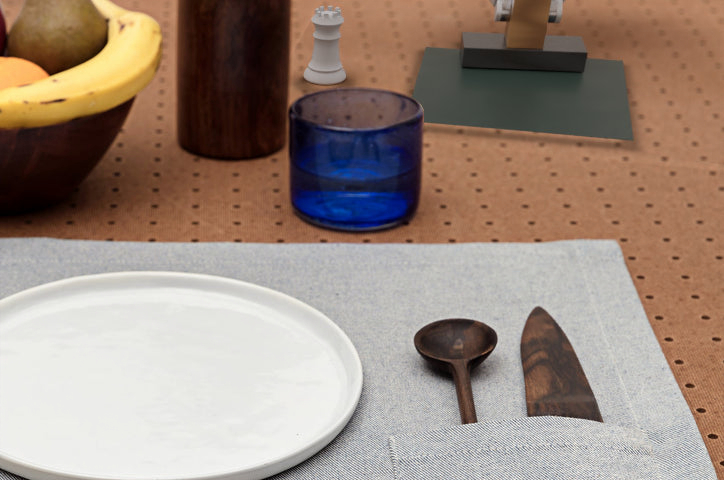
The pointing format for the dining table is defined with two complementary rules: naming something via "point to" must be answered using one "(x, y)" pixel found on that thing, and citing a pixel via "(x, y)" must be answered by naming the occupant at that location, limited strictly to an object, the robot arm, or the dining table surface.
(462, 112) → the slate board
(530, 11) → the duster
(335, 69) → the rook chess piece
